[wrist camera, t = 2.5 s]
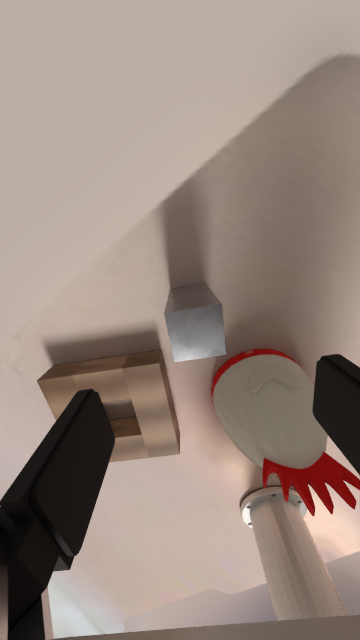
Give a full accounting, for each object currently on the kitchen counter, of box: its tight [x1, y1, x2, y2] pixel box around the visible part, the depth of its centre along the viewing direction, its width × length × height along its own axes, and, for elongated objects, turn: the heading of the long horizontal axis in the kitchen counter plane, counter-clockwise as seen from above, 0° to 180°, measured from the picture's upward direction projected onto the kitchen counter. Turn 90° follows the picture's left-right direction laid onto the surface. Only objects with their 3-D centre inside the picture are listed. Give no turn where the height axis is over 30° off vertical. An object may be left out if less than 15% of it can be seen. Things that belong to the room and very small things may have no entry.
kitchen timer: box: [211, 349, 360, 516], centre depth 23 cm, size 14×14×15 cm
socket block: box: [37, 350, 180, 462], centre depth 29 cm, size 16×16×4 cm
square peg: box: [164, 283, 226, 362], centre depth 21 cm, size 4×4×10 cm
